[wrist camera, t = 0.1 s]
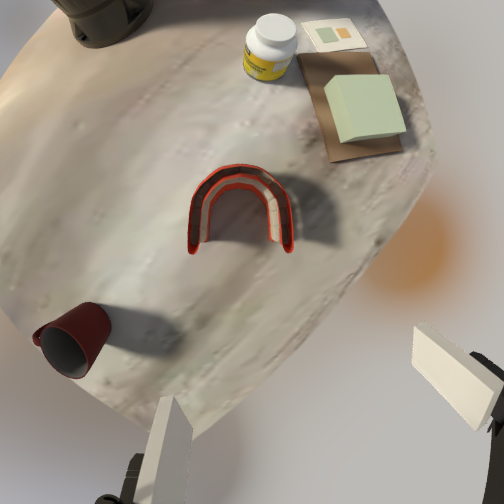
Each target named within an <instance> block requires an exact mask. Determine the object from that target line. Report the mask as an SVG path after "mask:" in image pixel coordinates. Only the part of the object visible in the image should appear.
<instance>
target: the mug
mask: <svg viewBox="0 0 504 504" xmlns="http://www.w3.org/2000/svg"><path fill="white" fill-rule="evenodd" d="M110 332H111V323H110V320H109V317H108V316H107V314H106V313H105V311H104V310H103V309H102V308H101V307H99V306H98V305H96V304H94V303H91V302H85V303H82V304H80V305H79V306H77V307H75V308H74V309H72V310H70V311H69V312H67V313H65V314H64V315H62V316H61V317H59V318H58V319H56V320H55V321H52V322H50V323H48V324H46V325H44V326H42V327H41V328H39V329H38V330H37V331H36V332H35V333H34V334H33V336H32V338H33V342H34V344H35V345H36V346H40V347H41V349H42V351H43V354H44V356H45V358H46V359H47V360H48V362H49V363H50V364H51V365H52V367H53V368H54V369H56V370H57V371H58V372H59V373H61V374H62V375H64V376H66V377H69V378H72V379H80V378H83V377H84V376H85V375H86V374H87V373H88V371H89V370H90V368H91V367H92V365H93V363H94V361H95V360H96V358H97V356H98V354H99V353H100V351H101V349H102V347H103V345H104V344H105V342H106V340H107V338H108V337H109V335H110ZM39 337H40V338H39Z"/></svg>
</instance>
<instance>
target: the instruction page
mask: <svg viewBox="0 0 504 504" xmlns="http://www.w3.org/2000/svg"><path fill="white" fill-rule="evenodd" d="M301 24H302V26H303V27H304V29H305V30H306V32H307V34H308V35H309V37H310V38H311V40H312V42H313V43H314V45H315V47H316V48H317V50H318V52H334V51H341V50H348V49H357V48H367V45H366V43H365V42H364V40H363V38H362V37H361V35H360V33H359V32H358V30H357V29H356V27H355V26H354V24H353V23H352V21H351V20H350V18H340V19H327V20H317V21H309V22H302V23H301Z"/></svg>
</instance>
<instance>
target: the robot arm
mask: <svg viewBox="0 0 504 504" xmlns="http://www.w3.org/2000/svg"><path fill="white" fill-rule="evenodd" d="M51 1H52V2H53V3H54V4H56V5H57V6H58V7H59V8H60V9H61V10H62V11H63V12H64V13H65V14H66V15H67V16H68V17H69V21H70V24H71V28H72V32H73V35H74V37H75V39H76V40H77V41H78V42H79V43H80V44H81V45H83V46H84V47H87V48H101V47H105V46H109V45H111V44H114V43H116V42H118V41H120V40H122V39H124V38H125V37H127V36H129V35H130V34H131V33H133V32H134V31H135V30H136V29H138V28H139V27H140V26H141V25H142V24H143V23H144V21H145V20H146V19H147V18H148V16H149V14H150V12H151V10H152V6H153V1H152V0H51ZM412 365H413V366H414V367H415V368H416V369H417V370H418V371H419V372H420V373H421V374H422V375H423V376H424V377H425V378H426V379H427V380H428V381H429V382H430V384H431V385H433V387H434V388H435V389H436V390H437V391H438V392H439V393H440V394H441V395H442V396H443V397H444V398H445V399H446V400H447V401H448V402H449V404H451V406H452V407H453V408H454V409H455V410H456V411H457V412H458V413H459V414H460V415H461V416H462V417H463V419H465V421H466V422H467V423H468V424H469V425H470V426H471V427H472V428H473V429H474V431H475V432H476V431H478V430H479V429H480V428H481V427H482V426H484V425H485V424H486V423H487V421H488V419H489V417H490V415H491V416H492V417H493V420H492V422H491V424H490V426H489V428H488V431H487V432H489V431H490V430H491V428H492V440H491V452H490V462H489V470H488V476H487V483H486V488H485V493H484V498H483V502H482V504H504V371H503V370H502V369H501V368H499V367H498V366H497V365H495V364H493V362H492V361H490V360H488V358H486V357H485V356H483V355H482V354H480V353H477V352H474V351H473V352H471V353H470V354H468V353H466V352H465V351H464V350H463V349H461V348H460V347H459V346H457V345H456V344H455V343H453V342H452V341H451V340H449V339H448V338H447V337H445V336H444V335H443V334H441V333H440V332H438V331H437V330H436V329H435V328H433V327H432V326H430V325H429V324H428V323H426V322H425V321H423V322H421V323H419V324H417V325H415V326H414V338H413V352H412ZM192 432H193V428H192V426H191V424H190V423H189V421H188V419H187V418H186V416H185V414H184V413H183V411H182V409H181V408H180V406H179V404H178V402H177V401H176V399H175V397H174V396H166V397H160V401H159V404H158V407H157V411H156V414H155V418H154V421H153V425H152V429H151V432H150V436H149V440H148V443H147V447H146V451H145V454H138V453H136V454H135V455H134V457H133V458H132V459H131V461H130V463H129V466H128V471H127V473H126V478H125V480H124V484H123V487H122V491H121V495H120V498H118V497H116V496H114V495H110V494H106V495H103V496H101V497H99V498H98V499H97V500H96V502H95V504H185V499H186V489H187V478H188V468H189V459H190V450H191V441H192Z"/></svg>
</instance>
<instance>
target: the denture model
mask: <svg viewBox="0 0 504 504" xmlns="http://www.w3.org/2000/svg"><path fill="white" fill-rule="evenodd" d="M238 188H240V189H246V190H251V191H253V192H254V193H255V194H256V195H257V196H259V198H260V199H261V200H262V202H263V203H264V205H265V206H266V210H267V215H268V226H269V239H270V241H273V242H274V241H276V242H280V243H281V244H282V245H283V248H284V250H285V252H286V253H291V252H292V251H293V248H294V239H293V221H292V211H291V206H290V201H289V197H288V196H287V194H286V192H285V190H284V188H283V187H282V185H281V184H280V183H279V182H278V181H277V180H276V179H275V178H274V177H273V176H272V175H270V174H269V173H268V172H267V171H266V170H264V169H262V168H260V167H258V166H253V165H248V164H233V165H227V166H223V167H220V168H218V169H216V170H215V171H213V172H212V173H211V174H210V175H209V176H208V177H207V178H206V179H205V180H204V181H202V182H201V183H200V184H199V186H198V187H197V189H196V191H195V193H194V195H193V197H192V201H191V206H190V212H189V222H188V252H189V254H191V255H194V254H196V252H197V250H198V247H199V244H200V243H203V242H207V241H208V239H209V222H210V213H211V207H212V206H213V204H214V203H215V201H216V200H217V199H218V197H219V196H220V195H221V194H223V193H224V192H225V191H226V190H232V189H238ZM274 197H275V199H274Z"/></svg>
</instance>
